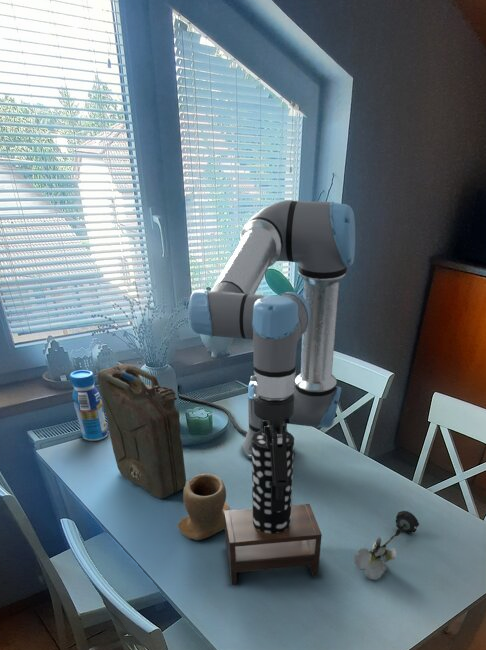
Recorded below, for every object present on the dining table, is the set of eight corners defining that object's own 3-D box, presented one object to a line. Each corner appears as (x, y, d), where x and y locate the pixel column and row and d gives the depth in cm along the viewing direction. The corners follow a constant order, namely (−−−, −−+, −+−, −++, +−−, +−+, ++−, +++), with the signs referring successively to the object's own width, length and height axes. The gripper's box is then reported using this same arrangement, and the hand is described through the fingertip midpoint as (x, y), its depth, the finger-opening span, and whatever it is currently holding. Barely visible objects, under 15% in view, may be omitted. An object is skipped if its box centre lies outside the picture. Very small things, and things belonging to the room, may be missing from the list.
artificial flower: (421, 541, 132) (437, 517, 123) (368, 592, 121) (382, 569, 113) (394, 520, 134) (408, 495, 126) (340, 568, 124) (351, 544, 115)
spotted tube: (286, 535, 111) (290, 451, 97) (248, 530, 112) (247, 446, 98) (293, 514, 117) (297, 431, 103) (257, 509, 118) (257, 427, 104)
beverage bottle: (76, 436, 167) (60, 374, 154) (97, 427, 172) (83, 366, 159) (93, 444, 164) (78, 381, 150) (114, 434, 169) (101, 373, 155)
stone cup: (199, 551, 125) (194, 499, 115) (172, 528, 132) (165, 477, 121) (248, 527, 133) (247, 476, 122) (220, 507, 139) (217, 457, 129)
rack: (226, 551, 125) (223, 510, 117) (306, 544, 128) (309, 503, 120) (231, 584, 117) (229, 542, 108) (317, 575, 119) (321, 534, 111)
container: (114, 473, 151) (91, 369, 131) (142, 461, 157) (125, 359, 136) (162, 503, 140) (146, 395, 120) (191, 489, 145) (180, 383, 125)
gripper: (245, 369, 103) (246, 464, 117) (264, 424, 85) (263, 528, 100) (281, 367, 104) (279, 462, 118) (308, 421, 86) (301, 525, 101)
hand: (272, 492), depth 109 cm, fingers open, 13 cm apart
